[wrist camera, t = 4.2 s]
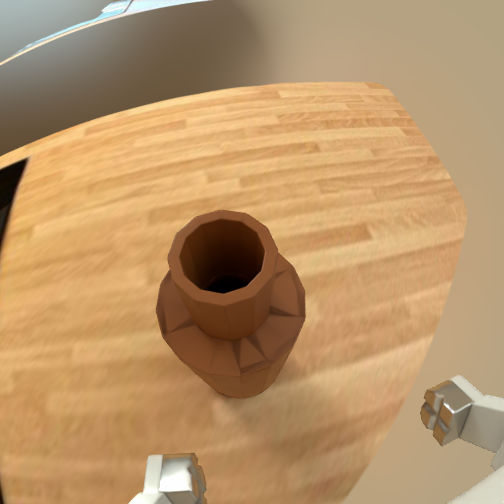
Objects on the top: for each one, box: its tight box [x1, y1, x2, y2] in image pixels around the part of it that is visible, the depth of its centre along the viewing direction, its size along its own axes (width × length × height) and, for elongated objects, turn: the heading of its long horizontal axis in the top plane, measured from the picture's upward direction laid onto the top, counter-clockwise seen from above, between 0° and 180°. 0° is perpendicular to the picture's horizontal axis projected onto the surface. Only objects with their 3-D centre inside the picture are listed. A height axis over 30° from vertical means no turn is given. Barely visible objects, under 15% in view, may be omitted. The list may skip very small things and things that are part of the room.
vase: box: [156, 210, 306, 398], centre depth 17 cm, size 6×6×17 cm
